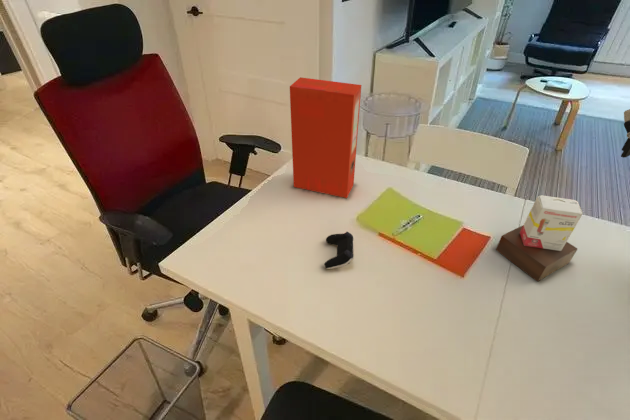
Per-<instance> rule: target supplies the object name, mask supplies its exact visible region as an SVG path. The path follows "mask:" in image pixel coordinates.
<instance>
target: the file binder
mask: <svg viewBox="0 0 630 420" xmlns="http://www.w3.org/2000/svg"><path fill="white" fill-rule="evenodd" d="M361 95H362V84H357V83H356V84H355V83H350V82H349V83H348V82H342V81H341V82H339V81H331V80H325V79H317V78H308V77H299V78H298V79H296V80H295V81H294V82H293V83H292V84H291V85H289V103H290V104H289V107H290V127H291V129H290V131H291V153H292V155H291V156H292V177H293V178H292V179H293V187H294V188H297V189H302V190H306V191H312V192H317V193H322V194H326V195H331V196H336V197H340V198H345V199H347V198H348V197H349V196H350V193H351V191H352V190H353V187H354V183H355V174H356V173H355V172H356V160H357V158H356V157H357V145H358V134H359V133H358V132H359V121H360V119H359V118H360V109H361Z"/></svg>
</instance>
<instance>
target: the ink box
mask: <svg viewBox="0 0 630 420" xmlns="http://www.w3.org/2000/svg"><path fill="white" fill-rule="evenodd" d="M583 214H584V212H583V210H582V207H581V206H580V203H579V202H578V200H575V199H570V198H563V197H557V196H550V195H541V194H540V195H538V196H536V198H535V201H534V203H533V205H532V207H531V209H530V211H529V213H528V215H527V217H526V219H525V221H524V223H523V225H522V226H523V227H522V229H521V231H520V235H521V238H522V242H523V245H524V246H530V247H537V248H544V249H550V250H557V251H561V250H562V249H563V247H564V245H565V244H566V242H568V240H569V238H570V237H571V235H572V233H573V232H574V231H575V228H576V227H577V225H578V223H579V221H580V220H581V218H582V217H583Z"/></svg>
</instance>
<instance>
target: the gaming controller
mask: <svg viewBox="0 0 630 420" xmlns="http://www.w3.org/2000/svg"><path fill="white" fill-rule="evenodd" d="M354 241H355V240H354V236H353V234H352V233H351V232H349V231H345V232H344V233H333V234H330V235H328V236H327V237H326V238H325V242H326V244H328V245H331V246H336V255H335V256H334V257H331V258H329V259H328V260H327V261H325V262H324V263H323V264H324V267H325V269H326V270H329V269H330V270H332V269H338V268H342V267H344V266H347V265H349V264H350V263H351V262H352V261H353V260H354V257H355V255H354V251H355V249H354V248H355V247H354V246H355V245H354V243H355V242H354Z"/></svg>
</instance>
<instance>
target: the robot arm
mask: <svg viewBox="0 0 630 420" xmlns="http://www.w3.org/2000/svg"><path fill="white" fill-rule="evenodd" d="M623 121H624V123H623V127H624V129H625V131H626V138H627V139H626V141H625V143H624V144H623V146H622V148H621V151H622V153H621V155H620V158H623V159H624V158H627V157H630V108H629V109H626V110H624V112H623Z"/></svg>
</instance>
